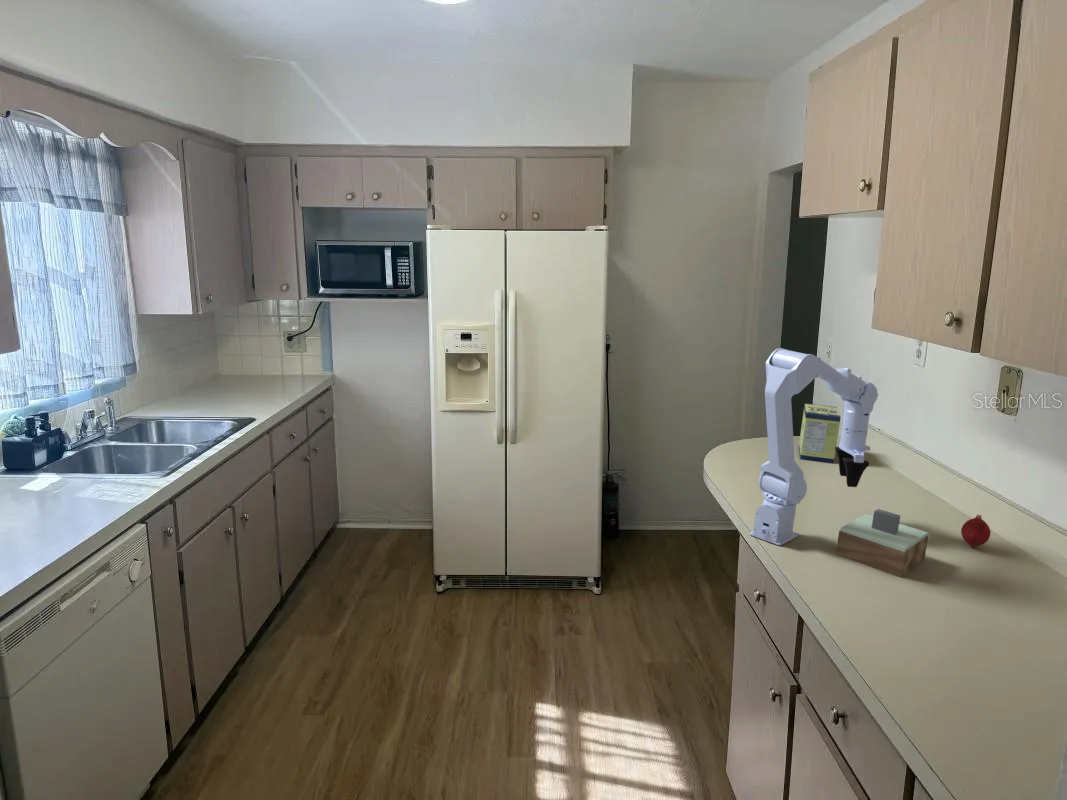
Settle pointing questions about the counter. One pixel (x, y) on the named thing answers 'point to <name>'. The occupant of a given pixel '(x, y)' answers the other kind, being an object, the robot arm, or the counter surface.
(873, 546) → the box
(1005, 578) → the counter surface
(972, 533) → the onion
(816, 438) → the protein box
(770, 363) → the robot arm
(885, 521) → the lid
